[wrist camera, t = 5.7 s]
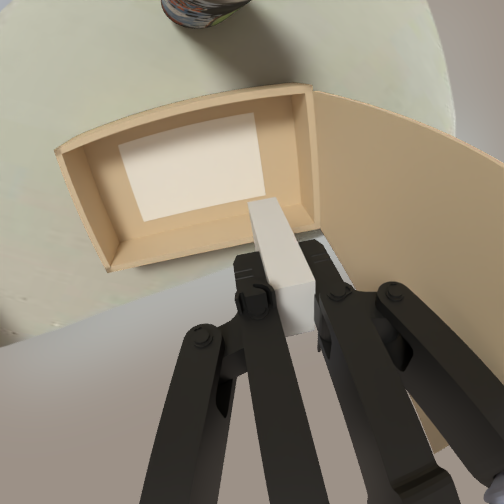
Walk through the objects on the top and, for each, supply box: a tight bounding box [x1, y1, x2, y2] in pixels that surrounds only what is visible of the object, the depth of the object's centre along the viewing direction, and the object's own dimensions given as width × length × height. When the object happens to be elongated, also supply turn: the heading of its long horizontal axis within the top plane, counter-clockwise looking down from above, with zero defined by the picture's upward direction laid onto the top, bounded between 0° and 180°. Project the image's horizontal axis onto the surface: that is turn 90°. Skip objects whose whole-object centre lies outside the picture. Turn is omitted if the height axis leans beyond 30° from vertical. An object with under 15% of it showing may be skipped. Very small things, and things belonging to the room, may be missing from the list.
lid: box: [313, 91, 504, 454], centre depth 13 cm, size 19×12×1 cm
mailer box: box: [54, 82, 321, 273], centre depth 23 cm, size 20×12×5 cm, turn 98°
